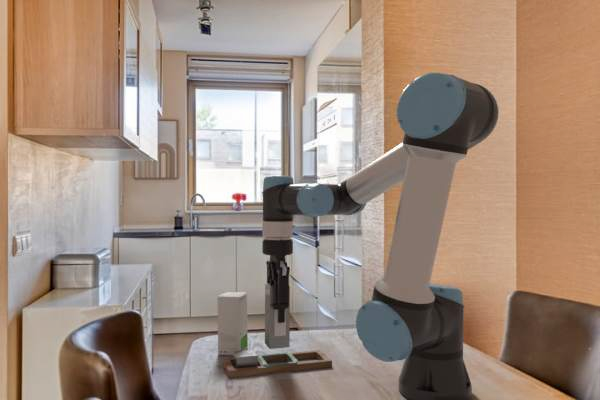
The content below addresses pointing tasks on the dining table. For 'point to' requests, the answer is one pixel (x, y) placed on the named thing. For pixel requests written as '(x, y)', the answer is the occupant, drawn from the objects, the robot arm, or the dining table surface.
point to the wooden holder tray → (290, 365)
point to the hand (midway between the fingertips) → (277, 332)
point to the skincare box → (232, 323)
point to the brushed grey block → (270, 302)
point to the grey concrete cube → (245, 359)
